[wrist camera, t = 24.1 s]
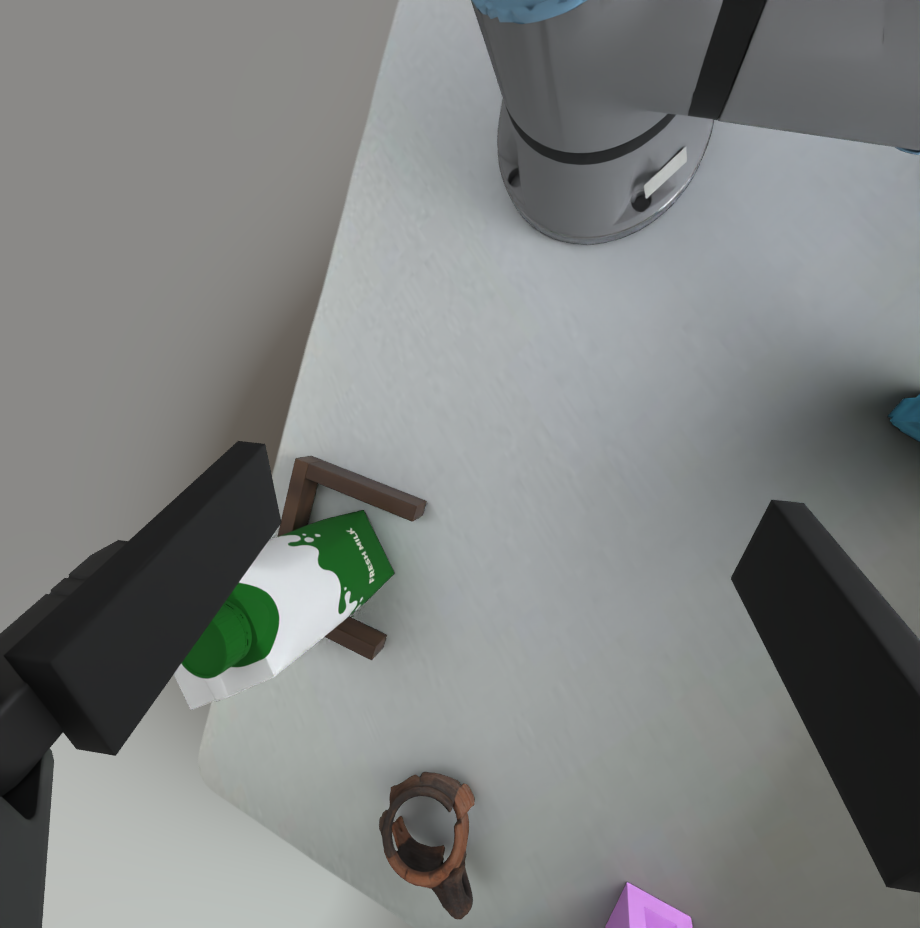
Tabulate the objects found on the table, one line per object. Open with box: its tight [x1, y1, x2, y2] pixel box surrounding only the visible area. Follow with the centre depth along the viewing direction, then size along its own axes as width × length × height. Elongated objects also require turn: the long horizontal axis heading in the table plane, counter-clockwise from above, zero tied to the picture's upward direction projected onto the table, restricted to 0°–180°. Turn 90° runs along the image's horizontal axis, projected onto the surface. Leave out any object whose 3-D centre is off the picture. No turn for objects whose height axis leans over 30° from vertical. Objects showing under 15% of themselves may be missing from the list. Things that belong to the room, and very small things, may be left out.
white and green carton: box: [174, 510, 395, 710], centre depth 36 cm, size 9×9×20 cm
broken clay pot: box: [379, 772, 475, 919], centre depth 44 cm, size 12×10×8 cm
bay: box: [277, 456, 427, 660], centre depth 45 cm, size 16×13×2 cm
